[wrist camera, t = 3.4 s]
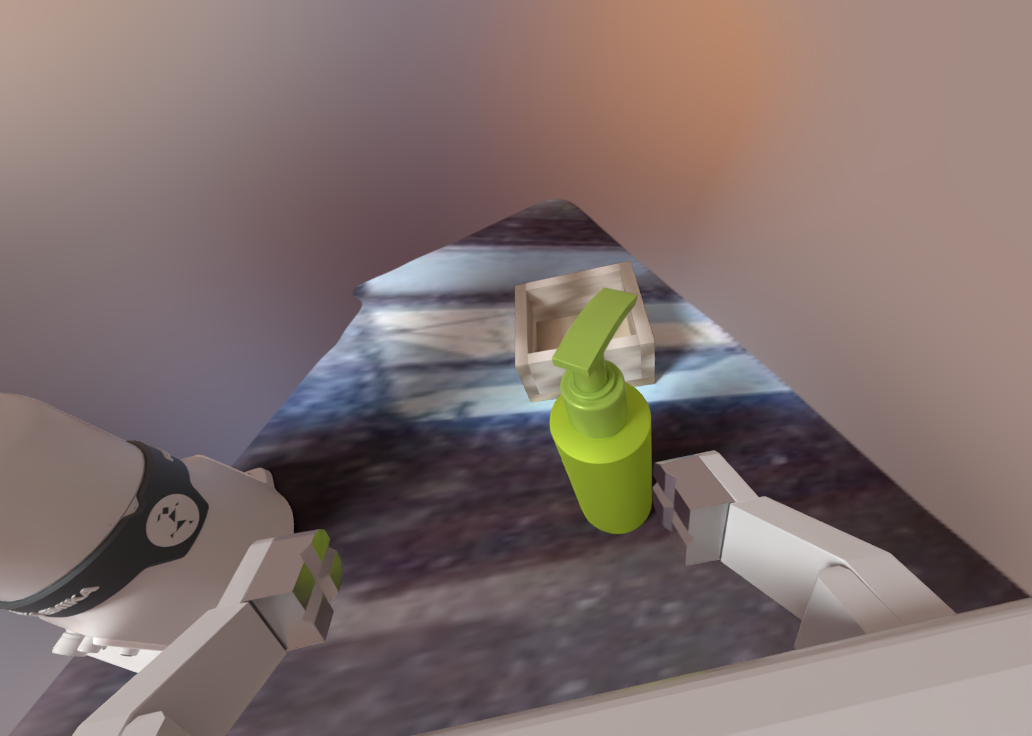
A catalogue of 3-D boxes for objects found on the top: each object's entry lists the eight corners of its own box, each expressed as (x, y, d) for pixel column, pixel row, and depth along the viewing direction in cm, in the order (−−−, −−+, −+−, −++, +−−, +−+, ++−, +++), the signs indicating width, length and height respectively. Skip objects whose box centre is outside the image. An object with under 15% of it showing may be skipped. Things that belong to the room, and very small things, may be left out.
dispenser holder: (530, 402, 42) (515, 366, 37) (528, 324, 49) (514, 285, 44) (654, 383, 39) (654, 342, 34) (632, 304, 46) (630, 260, 42)
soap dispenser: (668, 472, 34) (679, 295, 19) (633, 548, 31) (613, 412, 16) (604, 444, 37) (569, 272, 22) (567, 511, 34) (497, 367, 19)
